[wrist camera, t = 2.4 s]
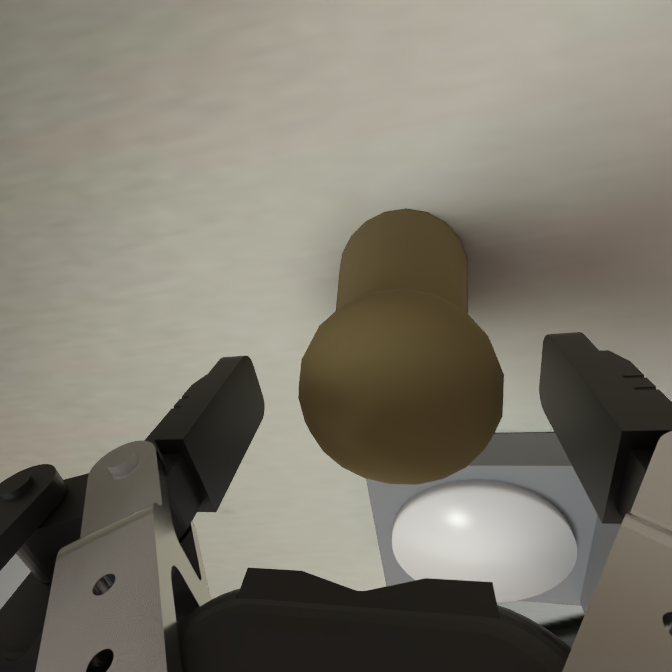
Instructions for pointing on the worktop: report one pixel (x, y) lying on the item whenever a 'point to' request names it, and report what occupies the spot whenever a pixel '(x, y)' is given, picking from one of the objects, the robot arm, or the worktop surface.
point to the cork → (402, 357)
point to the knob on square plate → (498, 525)
